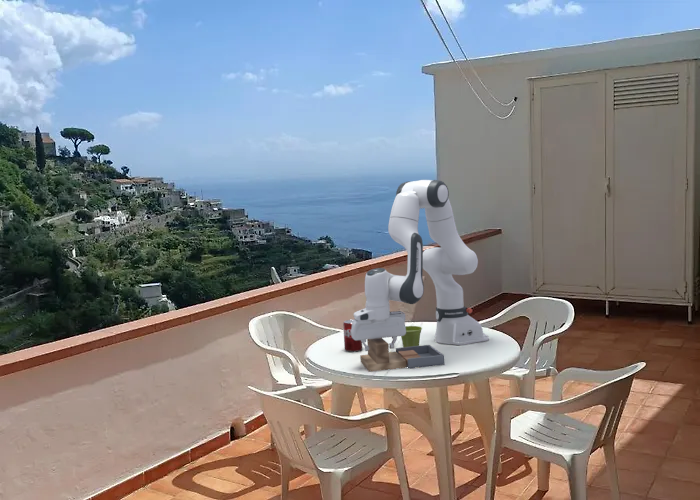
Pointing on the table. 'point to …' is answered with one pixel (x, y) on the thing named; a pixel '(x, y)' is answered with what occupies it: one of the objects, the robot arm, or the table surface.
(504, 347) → the table surface
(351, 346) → the soda can
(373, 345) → the bar
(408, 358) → the tile
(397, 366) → the oak plate
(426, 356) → the tray
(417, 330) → the plant pot
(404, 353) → the tile
